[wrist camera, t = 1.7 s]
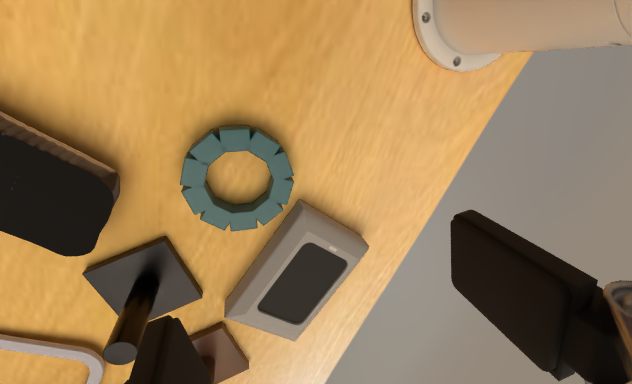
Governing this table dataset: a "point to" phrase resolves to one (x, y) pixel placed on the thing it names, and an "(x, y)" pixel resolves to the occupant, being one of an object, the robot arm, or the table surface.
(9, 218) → the black sponge
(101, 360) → the hand saw
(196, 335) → the brown peg stand
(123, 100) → the table surface
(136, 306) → the black post
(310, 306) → the grey flat block
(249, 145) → the ring
